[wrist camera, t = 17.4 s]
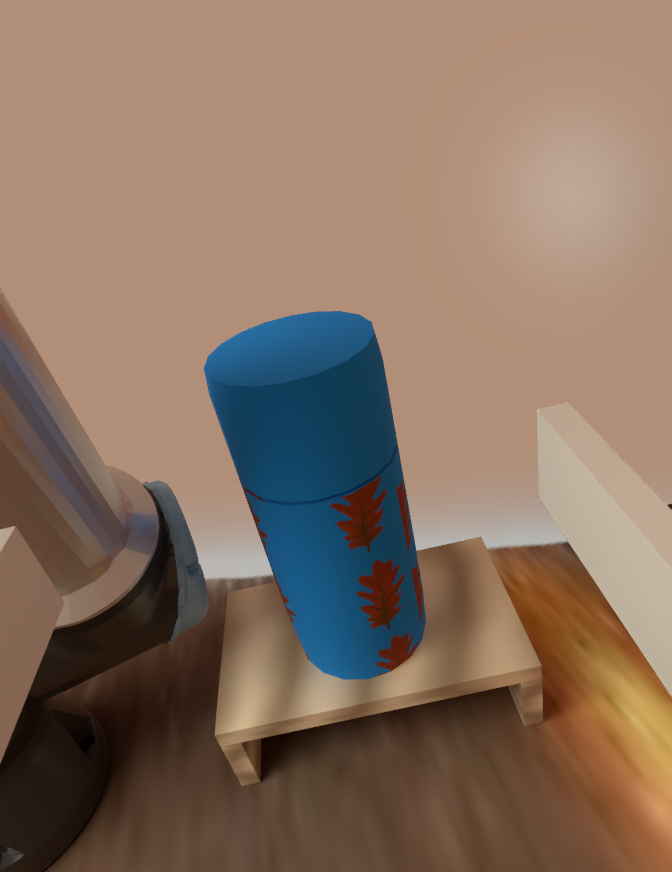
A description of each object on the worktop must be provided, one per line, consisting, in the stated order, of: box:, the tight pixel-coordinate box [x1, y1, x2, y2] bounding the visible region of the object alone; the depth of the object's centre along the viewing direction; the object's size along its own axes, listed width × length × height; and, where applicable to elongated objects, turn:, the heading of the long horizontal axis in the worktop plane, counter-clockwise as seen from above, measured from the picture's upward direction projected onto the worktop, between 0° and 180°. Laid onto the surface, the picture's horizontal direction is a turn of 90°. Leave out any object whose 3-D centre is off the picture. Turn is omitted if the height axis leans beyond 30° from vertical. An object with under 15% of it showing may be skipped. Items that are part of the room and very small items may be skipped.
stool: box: [215, 537, 543, 786], centre depth 49 cm, size 24×14×7 cm, turn 96°
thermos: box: [204, 311, 426, 680], centre depth 41 cm, size 11×11×25 cm
